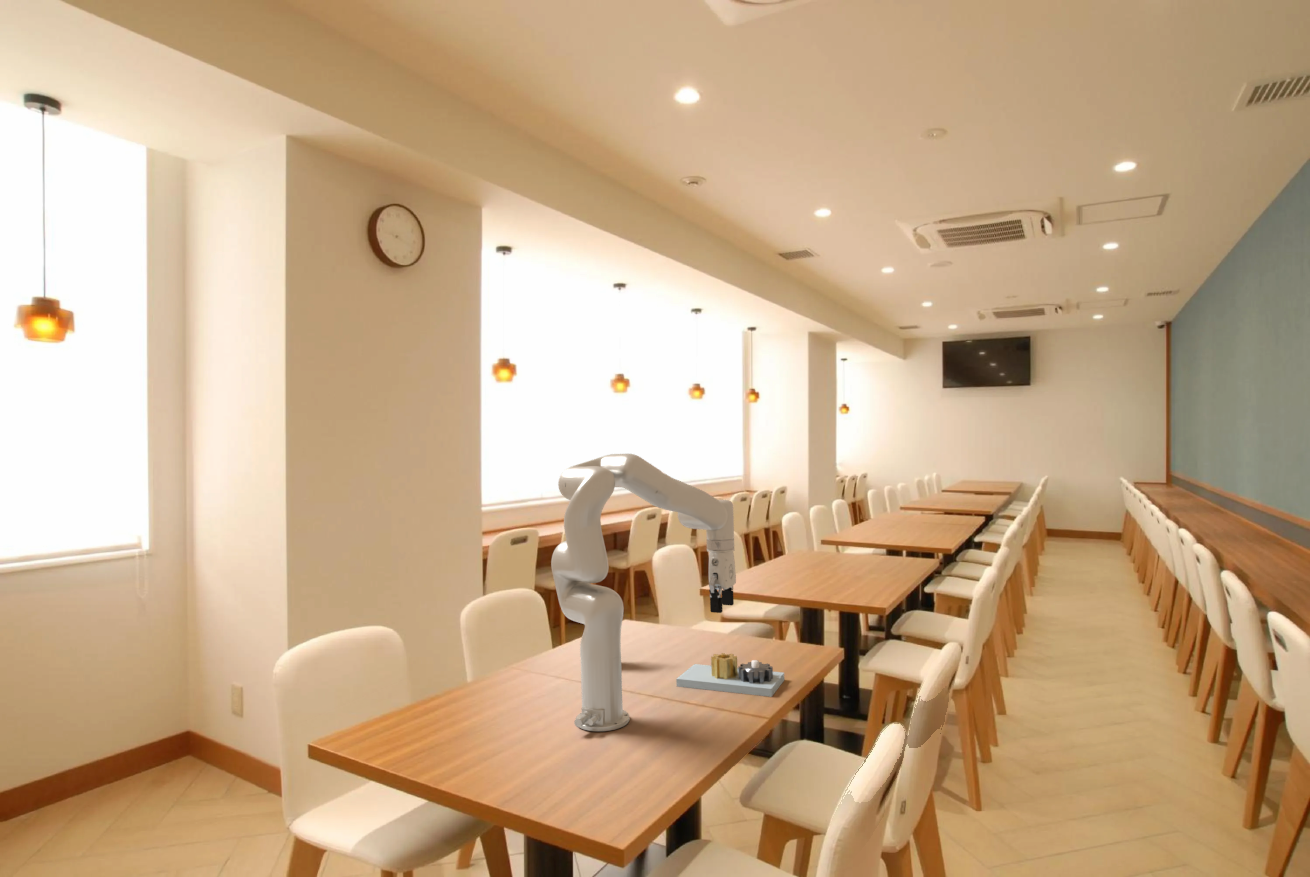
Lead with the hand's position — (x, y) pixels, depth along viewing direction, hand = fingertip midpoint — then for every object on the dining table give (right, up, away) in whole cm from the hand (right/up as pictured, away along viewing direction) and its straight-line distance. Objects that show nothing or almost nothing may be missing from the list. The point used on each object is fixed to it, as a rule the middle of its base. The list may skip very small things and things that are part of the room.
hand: (722, 608), depth 192 cm
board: (+2, -20, -1) cm, 20 cm away
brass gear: (+1, -18, 0) cm, 18 cm away
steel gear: (+9, -18, -4) cm, 20 cm away
